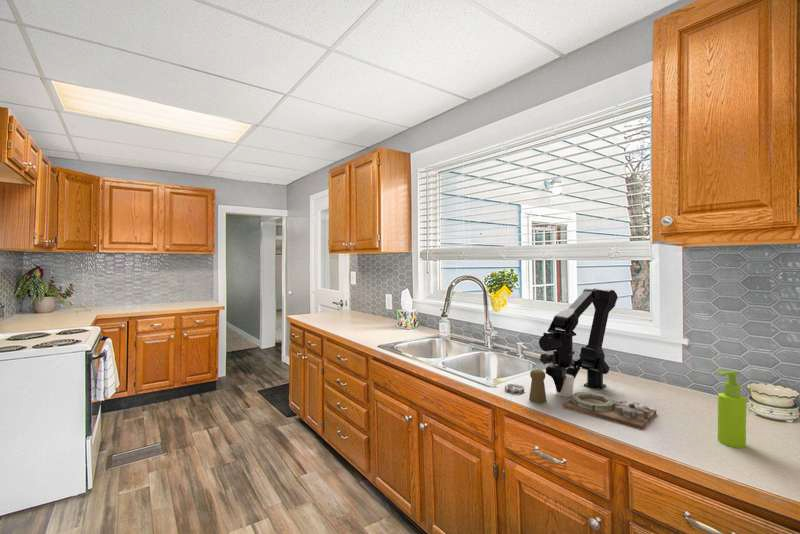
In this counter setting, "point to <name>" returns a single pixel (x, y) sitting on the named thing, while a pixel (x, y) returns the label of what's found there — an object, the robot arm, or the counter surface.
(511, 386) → the gear
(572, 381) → the white cylinder
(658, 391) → the counter surface
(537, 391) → the brown pepper mill
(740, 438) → the soap dispenser
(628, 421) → the gear board
